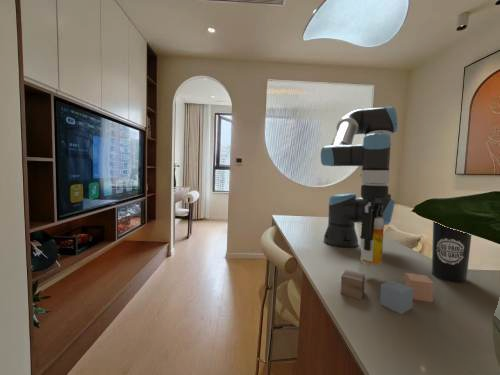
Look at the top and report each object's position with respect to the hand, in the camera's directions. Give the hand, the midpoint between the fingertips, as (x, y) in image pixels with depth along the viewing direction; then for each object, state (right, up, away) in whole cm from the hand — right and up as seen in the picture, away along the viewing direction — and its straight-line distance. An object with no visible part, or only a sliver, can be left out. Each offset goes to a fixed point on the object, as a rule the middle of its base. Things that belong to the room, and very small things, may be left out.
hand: (371, 257), depth 75 cm
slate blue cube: (-3, -7, -17) cm, 19 cm away
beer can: (0, -2, 0) cm, 2 cm away
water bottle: (+25, -7, +1) cm, 26 cm away
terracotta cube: (+6, -7, -12) cm, 15 cm away
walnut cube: (-11, -7, -11) cm, 17 cm away
